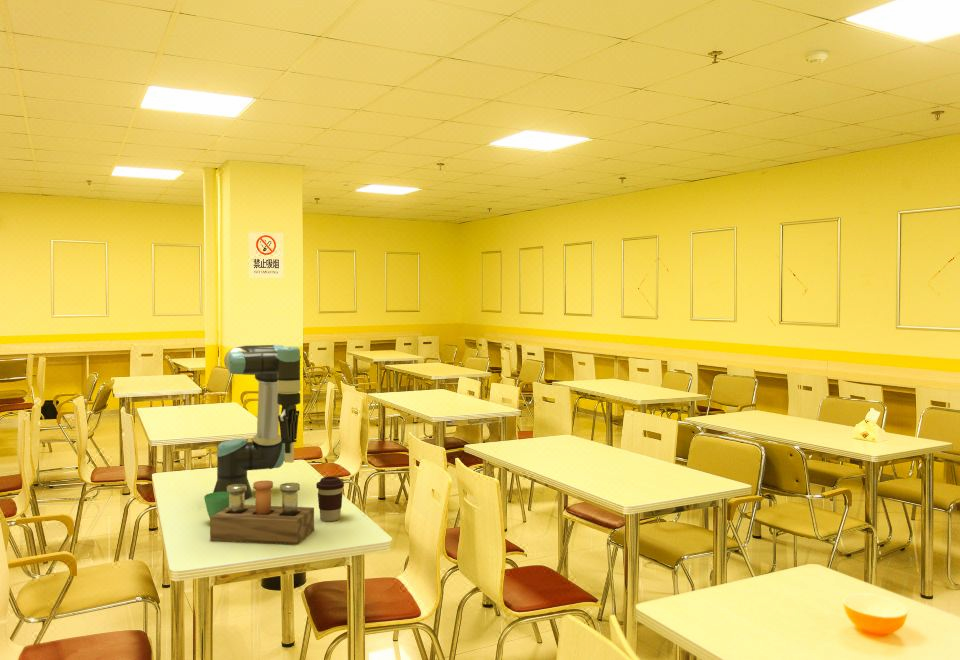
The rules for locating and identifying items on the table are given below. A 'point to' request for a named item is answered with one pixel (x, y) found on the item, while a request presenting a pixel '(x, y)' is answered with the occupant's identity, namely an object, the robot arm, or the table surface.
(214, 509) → the mug
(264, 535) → the brown wooden block
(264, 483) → the plunger
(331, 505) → the coffee cup
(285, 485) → the plunger
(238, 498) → the plunger
